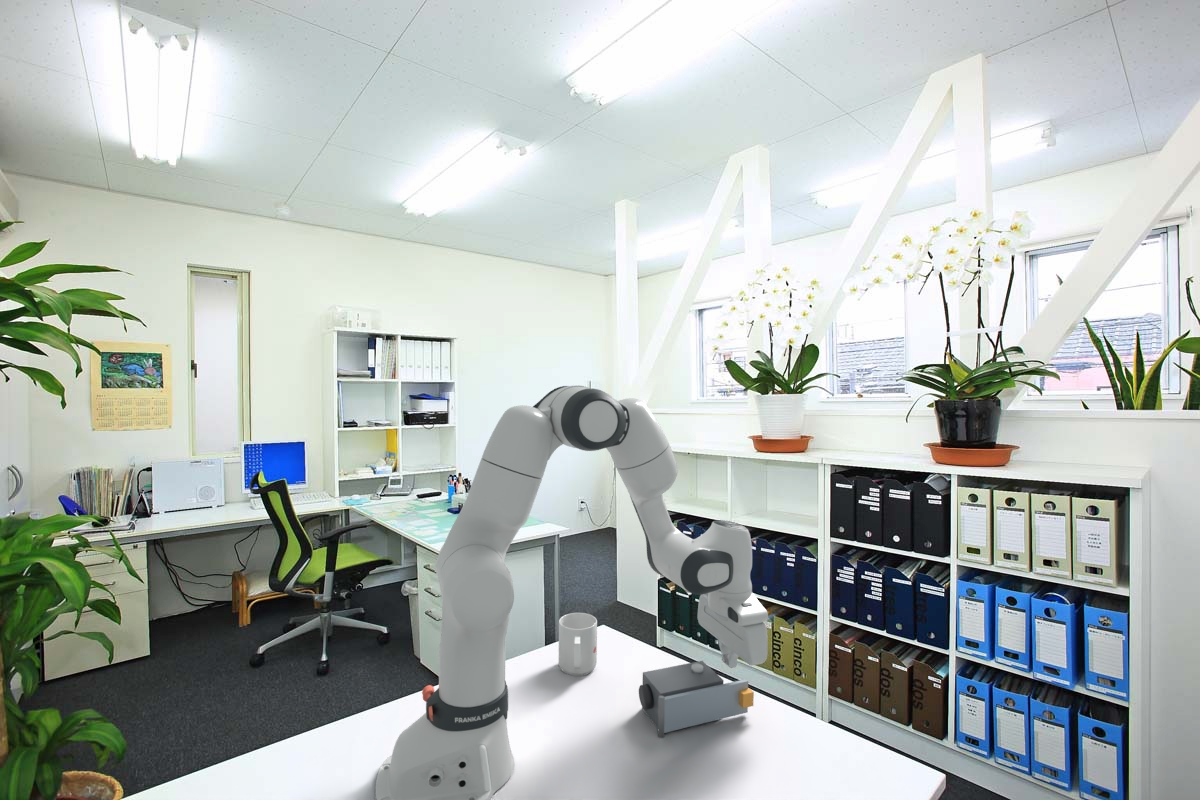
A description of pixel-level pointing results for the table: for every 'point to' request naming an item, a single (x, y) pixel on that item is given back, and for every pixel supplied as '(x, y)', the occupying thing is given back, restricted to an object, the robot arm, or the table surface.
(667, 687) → the camera case
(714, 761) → the table surface
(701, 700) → the side door
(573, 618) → the mug
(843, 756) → the table surface
